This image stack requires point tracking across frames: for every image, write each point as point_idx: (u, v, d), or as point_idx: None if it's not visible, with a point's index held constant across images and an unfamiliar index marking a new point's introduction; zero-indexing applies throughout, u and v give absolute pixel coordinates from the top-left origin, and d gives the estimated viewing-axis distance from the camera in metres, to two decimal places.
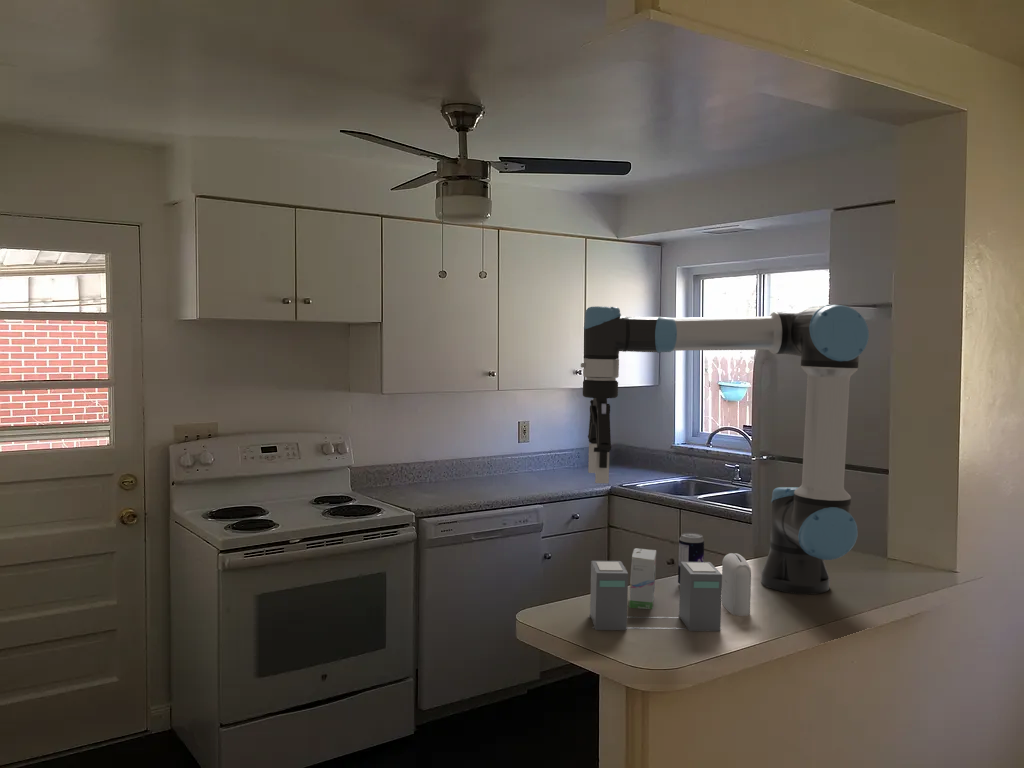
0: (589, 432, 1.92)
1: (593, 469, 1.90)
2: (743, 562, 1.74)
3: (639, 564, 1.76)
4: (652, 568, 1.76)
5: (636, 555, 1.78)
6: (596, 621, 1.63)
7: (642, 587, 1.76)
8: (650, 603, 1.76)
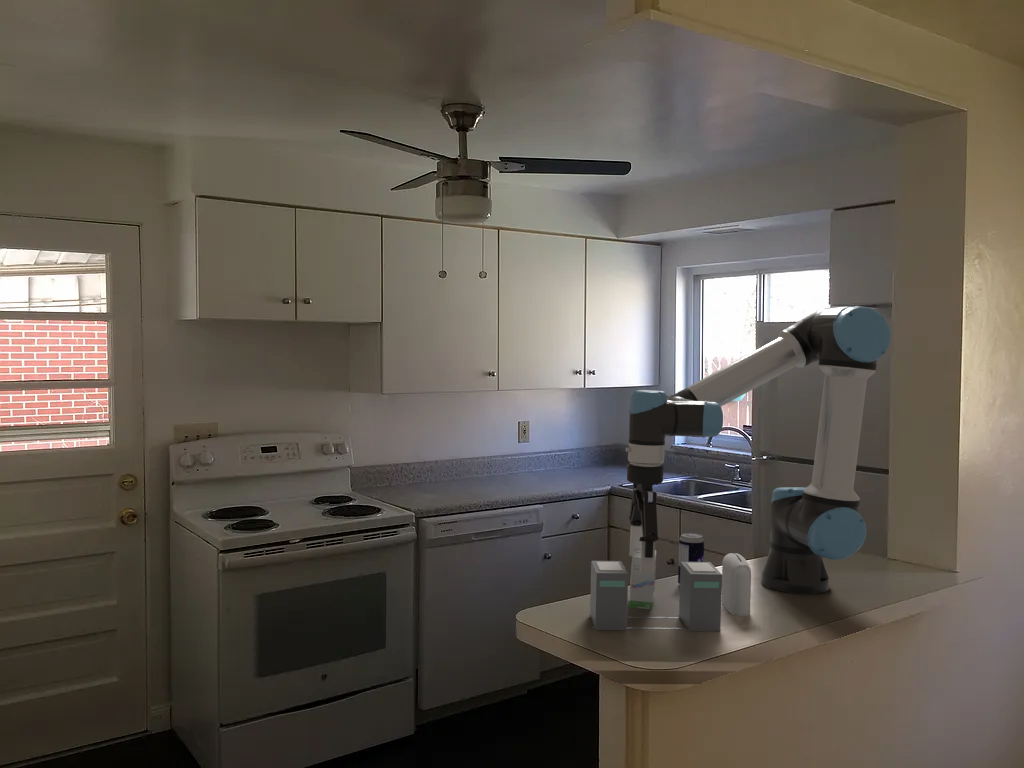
0: (631, 514, 1.88)
1: None
2: (743, 562, 1.74)
3: (639, 564, 1.76)
4: None
5: (636, 555, 1.78)
6: (596, 621, 1.63)
7: (642, 587, 1.76)
8: (650, 603, 1.76)
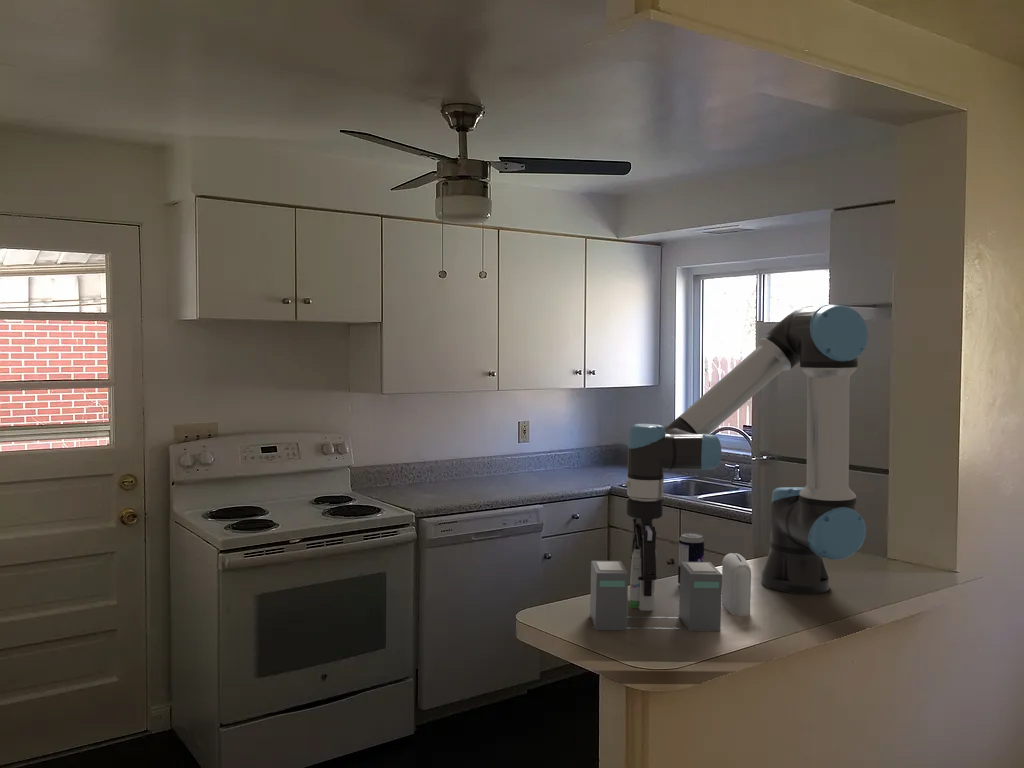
0: (632, 552, 1.87)
1: None
2: (743, 562, 1.74)
3: (639, 564, 1.76)
4: None
5: (636, 555, 1.78)
6: (596, 621, 1.63)
7: None
8: None
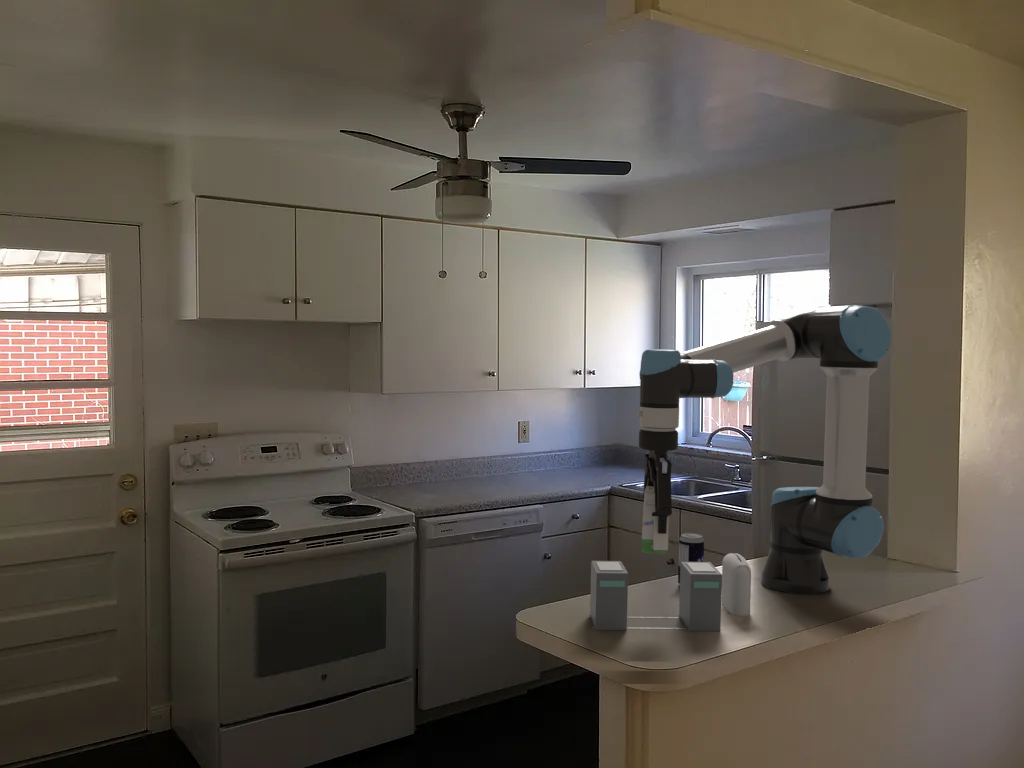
0: None
1: None
2: (743, 562, 1.74)
3: (652, 500, 1.62)
4: None
5: (649, 490, 1.64)
6: (596, 621, 1.63)
7: None
8: None
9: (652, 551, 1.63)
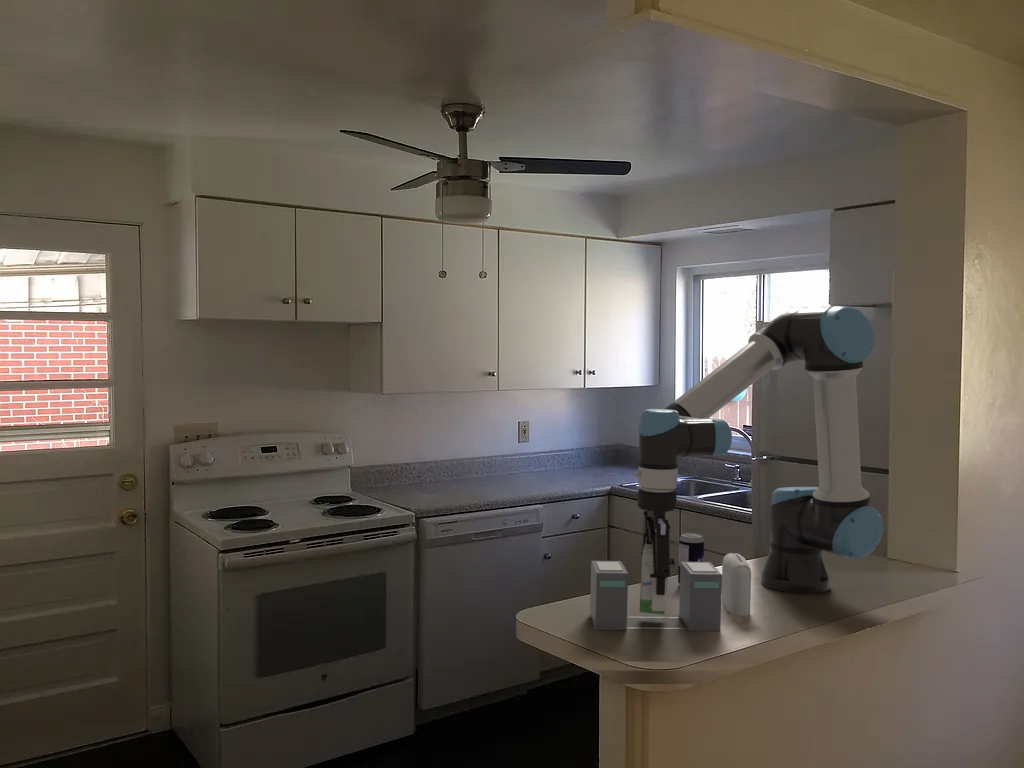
0: (643, 548, 1.74)
1: None
2: (743, 562, 1.74)
3: (651, 561, 1.63)
4: None
5: (648, 550, 1.65)
6: (596, 621, 1.63)
7: None
8: None
9: (650, 611, 1.64)
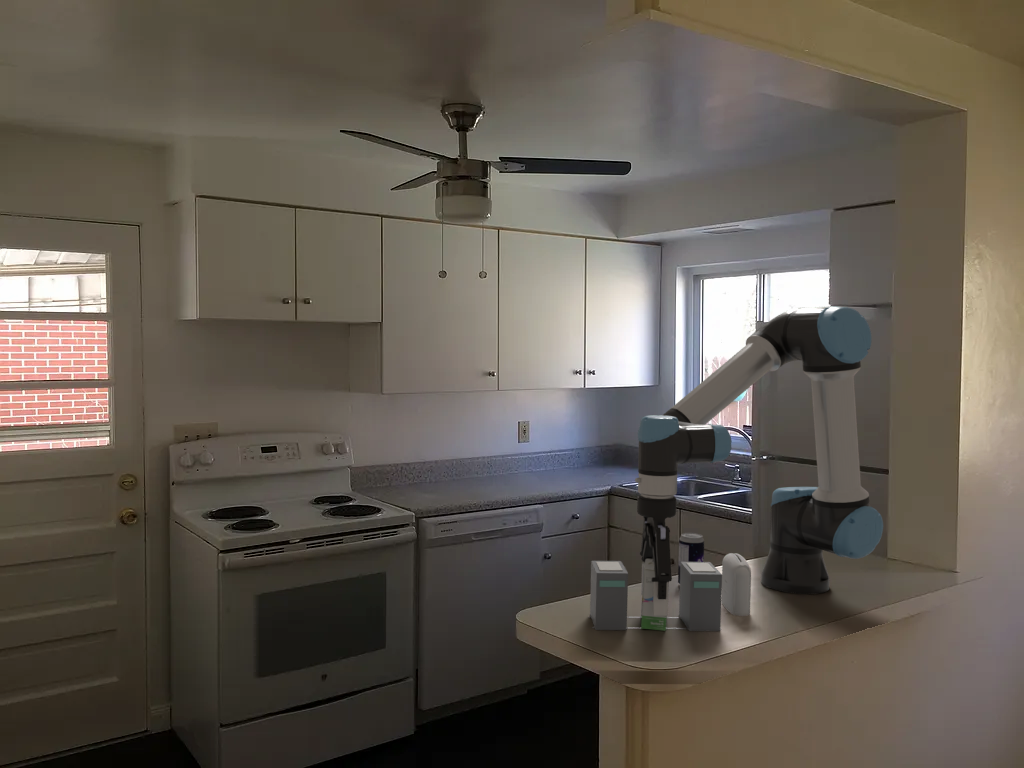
0: (642, 549, 1.75)
1: None
2: (743, 562, 1.74)
3: None
4: None
5: (649, 566, 1.65)
6: (596, 621, 1.63)
7: None
8: (664, 618, 1.63)
9: (652, 628, 1.63)
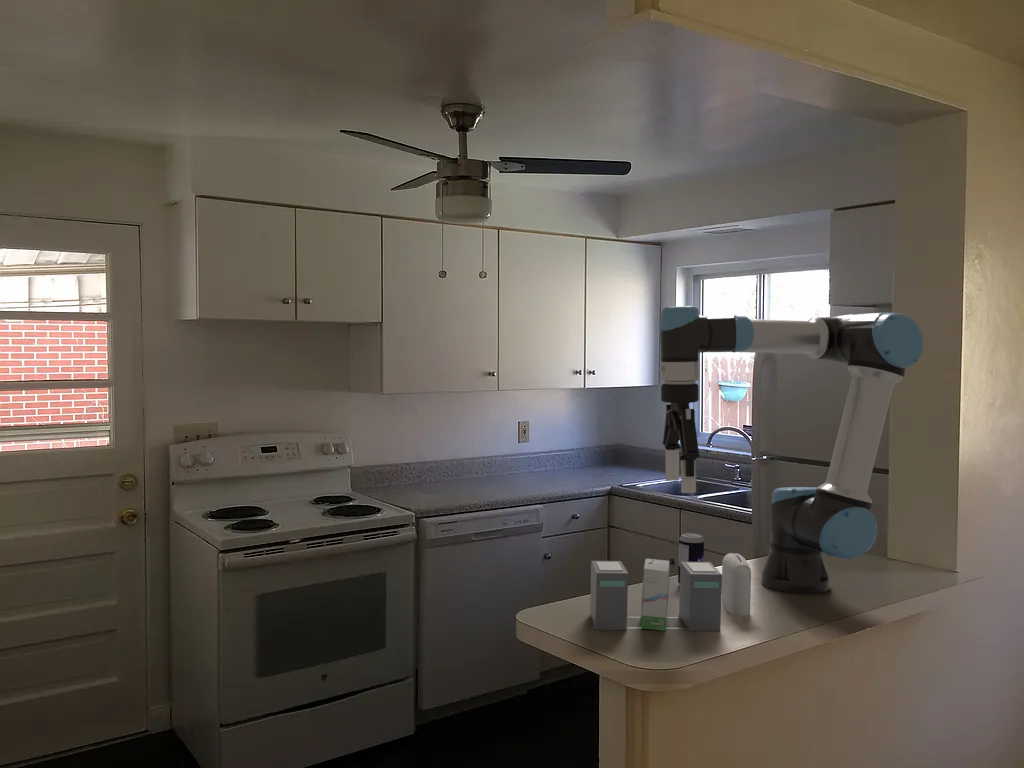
0: (665, 438, 1.82)
1: (671, 476, 1.81)
2: (743, 562, 1.74)
3: (652, 577, 1.63)
4: (666, 581, 1.62)
5: (649, 566, 1.65)
6: (596, 621, 1.63)
7: (656, 601, 1.63)
8: (664, 618, 1.63)
9: (652, 628, 1.63)
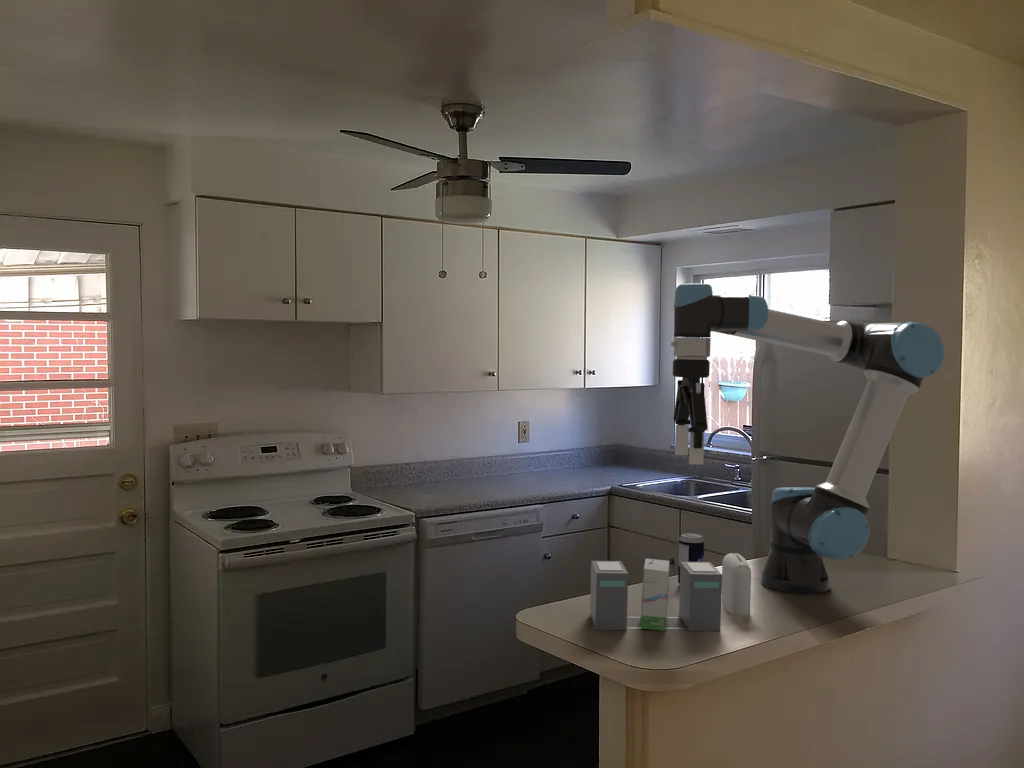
0: (675, 413, 1.87)
1: (680, 451, 1.86)
2: (743, 562, 1.74)
3: (652, 577, 1.63)
4: (666, 581, 1.62)
5: (649, 566, 1.65)
6: (596, 621, 1.63)
7: (656, 601, 1.63)
8: (664, 618, 1.63)
9: (652, 628, 1.63)
